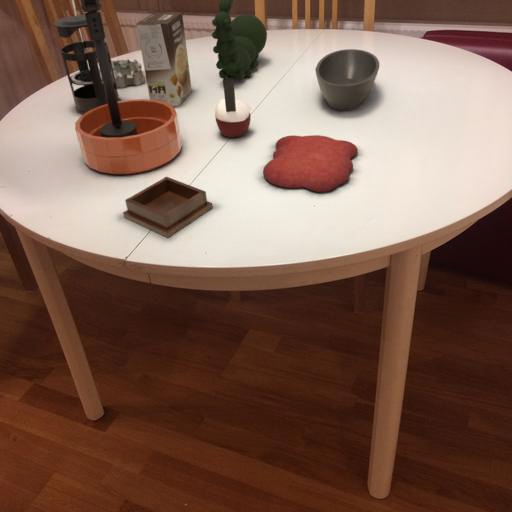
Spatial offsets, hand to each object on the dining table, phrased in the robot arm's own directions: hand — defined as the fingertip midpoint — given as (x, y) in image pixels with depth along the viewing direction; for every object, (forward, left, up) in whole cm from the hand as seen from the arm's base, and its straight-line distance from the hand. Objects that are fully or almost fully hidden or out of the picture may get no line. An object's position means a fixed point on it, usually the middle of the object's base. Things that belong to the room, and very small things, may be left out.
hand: (97, 37), depth 80 cm
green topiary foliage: (+44, +9, -19) cm, 49 cm away
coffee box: (+23, +11, -19) cm, 32 cm away
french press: (+12, +22, -19) cm, 32 cm away
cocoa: (+16, -12, -19) cm, 28 cm away
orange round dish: (+1, -2, -19) cm, 19 cm away
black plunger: (0, 0, -17) cm, 17 cm away
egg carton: (+26, +29, -19) cm, 43 cm away
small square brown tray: (-9, -21, -19) cm, 30 cm away
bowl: (+42, -20, -19) cm, 50 cm away
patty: (+14, -30, -19) cm, 38 cm away
